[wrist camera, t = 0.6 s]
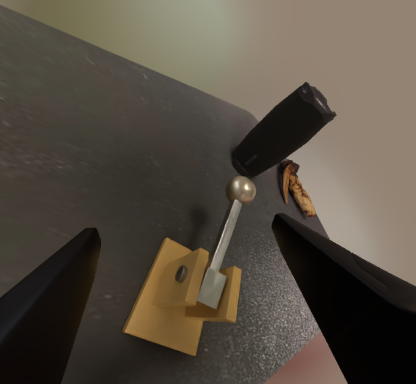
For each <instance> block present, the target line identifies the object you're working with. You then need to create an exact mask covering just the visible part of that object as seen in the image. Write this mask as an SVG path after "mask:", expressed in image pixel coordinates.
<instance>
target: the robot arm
mask: <svg viewBox="0 0 416 384" xmlns="http://www.w3.org/2000/svg"><path fill="white" fill-rule="evenodd" d="M272 230H273V233H274V235H275V238H276V241H277V243H278V246H279V248H280V251H281V253H282V255H283V257H284V259H285V261H286V263H287V265H288V267H289V269H290V271H291V273H292V275H293V277H294V279H295V281H296V283H297V285H298V287H299V289H300V291H301V293H302V295H303V297H304V298H305V300H306V302H307V304H308V306H309V308H310V310H311V312H312V314H313V316H314V318H315V320H316V322H317V324H318V326H319V328H320V330H321V332H322V334H323V336H324V337H325V339H326V342H327V343H328V346H329V348H330V349H331V351H332V354H333V356H334V357H335V359H336V361H337V363H338V365H339V367H340V369H341V371H342V373H343V375H344V377H345V379H346V381H347V383H348V384H416V286H414V285H412V284H410V283H408V282H406V281H404V280H402V279H400V278H398V277H396V276H394V275H392V274H390V273H388V272H387V271H385V270H383V269H381V268H379V267H377V266H375V265H373V264H371V263H370V262H367V261H366V260H364V259H362V258H360V257H359V256H357V255H355V254H354V253H351V252H350V251H348V250H346V249H345V248H343V247H341V246H340V245H338V244H336V243H334V242H333V241H331V240H329V239H327V238H326V237H324V236H322V235H320V234H319V233H317V232H315V231H314V230H312V229H310V228H308V227H307V226H305V225H303V224H301V223H300V222H298V221H296V220H294V219H293V218H291V217H289V216H287V215H286V214H283V213H280V214H276V215H275V217H274V220H273V222H272ZM100 248H101V239H100V236H99V233H98V230H97V229H96V228H86V229H84V230H83V231H81V232H80V233H79V234H78V235H77V236H75V237H74V238H73V239H72V240H70V241H69V242H68V243H67V244H66V245H64V246H63V247H62V248H61V249H59V250H58V251H57V252H56V253H54V254H53V255H52V256H51V257H50V258H48V259H47V260H46V261H45V262H43V263H42V264H41V265H40V266H39V267H37V268H36V269H35V270H34V271H32V272H31V273H30V274H29V275H28V276H26V277H25V278H24V279H23V280H21V281H20V282H19V283H18V284H16V285H15V286H14V287H13V288H12V289H10V290H9V291H8V292H7V293H5V294H4V295H3V296H2V297H1V298H0V384H61V382H62V378H63V375H64V372H65V369H66V366H67V363H68V360H69V357H70V353H71V350H72V347H73V344H74V341H75V338H76V335H77V331H78V328H79V325H80V322H81V319H82V316H83V313H84V309H85V306H86V303H87V300H88V297H89V294H90V291H91V288H92V284H93V281H94V278H95V274H96V269H97V263H98V258H99V253H100Z"/></svg>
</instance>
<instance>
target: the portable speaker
mask: <svg viewBox="0 0 416 384" xmlns="http://www.w3.org/2000/svg"><path fill="white" fill-rule="evenodd" d="M335 116H336V113H335V112H332V111H331V110H330V108H329V107H328V105H327V100H326V98H325V97H324V96H323V95H322V93H321V92H320V91H318V90H317V89H316V88H315V87H312V86H310V85H309V83H307V82H305V83H304V84H303V85H302V86H300V87H299V88H298V89H296V90H295V91H294V92H293V93H291V94H290V95H289V96H288V97H286V98H285V99H284V100H283V101H281V102H280V103H279V104H278V105H276V106H275V107H274V108H273V110H271V111H270V112H269V113H268V114H267V115H266V116H265V117H264V118H263V119H262V120H261V121H260V122H259V123H258V124H257V125H256V126H255V127H254V128H253V129H252V130H251V131H250V132H249V133H248V135H247V136H246V137H245V138H244V140H243V141H242V142H241V143H240V144H239V146H238V147H237V148H236V149H235V151H234V152H233V153H234V161H233V166H234V168H235V169H236V170H237V171H238V172H239V173H240V174H241V175H243V176H247V175H248V176H257V175H259V174H260V173H262V172H264V171H266V170H267V169H269V168H271V167H273V166H275V165H276V164H278V163H279V162H281V161H282V160H284V159H285V158H286V157H288V156H289V155H290V154H292V153H293V152H295V151H296V150H297V149H299V148H300V147H301V146H303V145H304V144H306V143H307V142H308V141H309V140H310V139H311V138H312V137H313V136H314V135H315V134H316V133H317V132H318V131H320V130H321V128H323V127H324V126H325V125H326V124H327V123H328V122H330V121H331V120H333V118H334V117H335Z"/></svg>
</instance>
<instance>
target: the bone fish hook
mask: <svg viewBox="0 0 416 384" xmlns="http://www.w3.org/2000/svg"><path fill="white" fill-rule="evenodd" d="M279 164H280V169H279V170H280V171H281V173H282V175H283V176H282V194H283V199H284V201H285V203H286V204H287V195H288V187H289V190H290V191H291V193H292V195H293V197H294V199H295V201H296V202H297V203H298V205H299V206H300V208H301V209H302V211H303V212H306V216H307V217H314V216H316V213H315V209H314V207H313V205H312V203H311V200H310V198H309V196H308V195H307V193H306V191H305V190H304V189H303V187H302V185H301V183H300V182H299V180H298V176H297V175H296V173H297V171H298V169H299V165H298V164H296V163H293V161H292V160H288V159H287V161H283V162H280V163H279Z"/></svg>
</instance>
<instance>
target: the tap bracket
mask: <svg viewBox="0 0 416 384" xmlns="http://www.w3.org/2000/svg"><path fill="white" fill-rule="evenodd" d="M208 255H209V252H208V251H206V250H204V249H202V248H199V249H197V250H195V251H191V250H190V249H188V248H186V247H184V246H182V245H180V244H178V243H176V242H174V241H173V240H171V239H169V238H166V239H164V240H163V242H162V244H161V247H160V249H159V251H158V253H157V255H156V258H155V260H154V262H153V264H152V266H151V269H150V271H149V273H148V275H147V277H146V279H145V282H144V284H143V286H142V288H141V290H140V293H139V295H138V297H137V299H136V301H135V304H134V306H133V308H132V310H131V312H130V314H129V317H128V319H127V321H126V323H125V325H124V328H123V330H122V332H125V333H127V334H130V335H133V336H136V337H139V338H142V339H145V340H148V341H151V342H154V343H157V344H160V345H163V346H166V347H169V348H172V349H175V350H178V351H181V352H184V353H187V354H190V355H192V356H196V352H197V347H198V343H199V338H200V334H201V329H202V324H203V321H217V322H232V323H235V322H236V314H237V305H238V297H239V289H240V280H241V272H242V270H241V269H239V268H237V267H235V266H233V267H229V268H225V269H222V270H219V273H221V274H223V275H225V276H227V278H226V281H225V284H224V287H223V291H222V294H221V297H220V300H219V303H218V306H217V309H214V308H212V307H210V306H207V305H205V304H203V303H200V302H198V301H197V298H198V294H199V290H200V286H201V282H202V278H203V274H204V270H205V266H206V264H207V262H208Z"/></svg>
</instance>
